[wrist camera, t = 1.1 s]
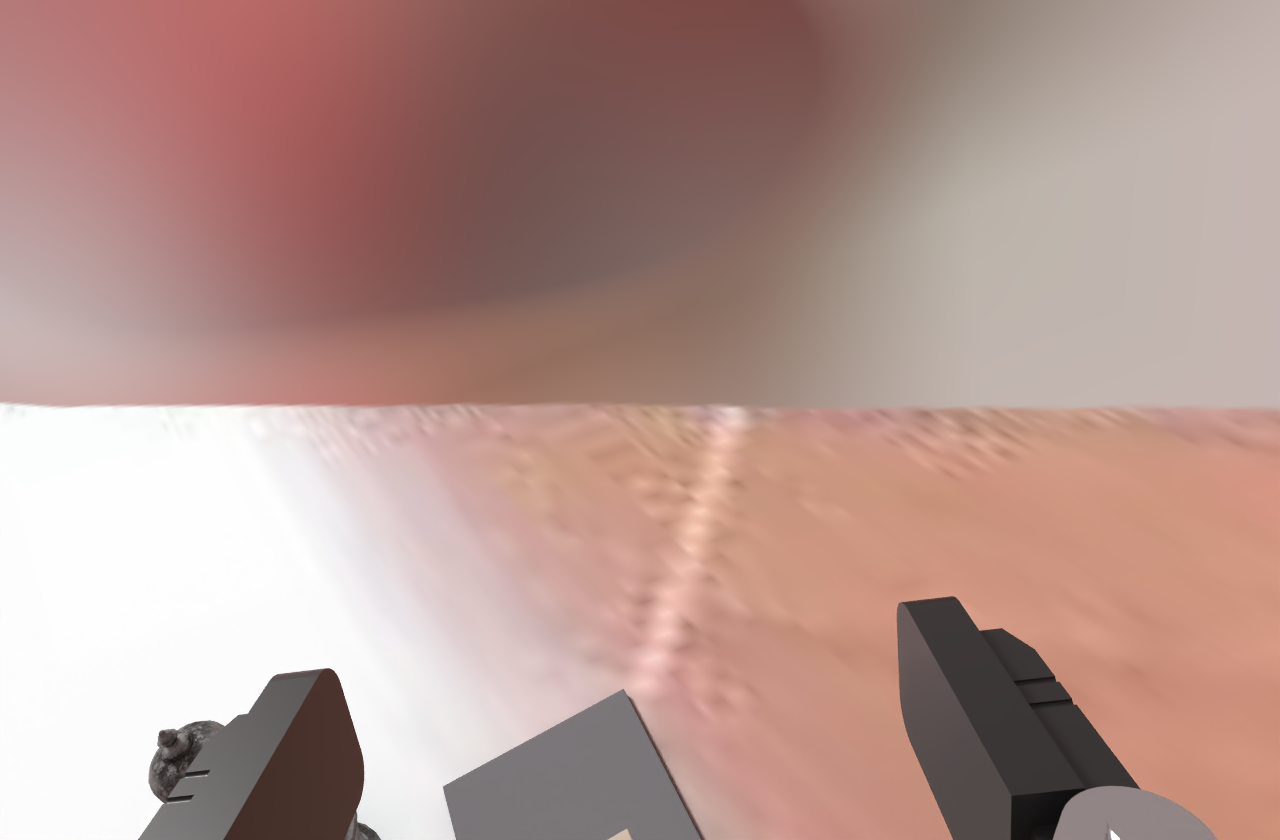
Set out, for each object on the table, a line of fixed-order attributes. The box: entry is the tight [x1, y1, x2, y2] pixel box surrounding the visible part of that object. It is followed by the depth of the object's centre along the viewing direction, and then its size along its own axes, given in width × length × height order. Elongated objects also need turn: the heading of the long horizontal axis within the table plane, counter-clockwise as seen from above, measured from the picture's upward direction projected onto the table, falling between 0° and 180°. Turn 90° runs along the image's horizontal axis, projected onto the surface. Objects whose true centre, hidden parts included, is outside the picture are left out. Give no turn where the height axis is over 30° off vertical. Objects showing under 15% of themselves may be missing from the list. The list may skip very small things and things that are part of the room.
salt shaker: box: [149, 721, 380, 840], centre depth 31 cm, size 6×6×12 cm
